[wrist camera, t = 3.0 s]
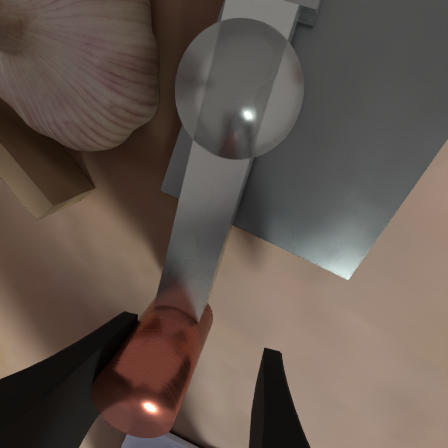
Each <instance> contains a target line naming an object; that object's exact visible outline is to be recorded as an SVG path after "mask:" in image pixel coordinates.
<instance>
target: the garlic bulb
mask: <svg viewBox="0 0 448 448" xmlns="http://www.w3.org/2000/svg"><path fill="white" fill-rule="evenodd" d="M158 67H159V48H158V44H157V41H156V39H155V36H154V34H153V32H152V25H151V5H150V0H0V97H1V98H2V99H3V100H4V101H5V102H7V103H8V104H9V105H10V106H11V107H12V108H13V109H14V110H15V111H16V112H17V114H18V115H19V116H20V117H21V118H22V119H23V120H24V122H25V123H26V124H27V125H28V126H30V127H31V128H32V129H34V130H35V131H36V132H38V133H40V134H42V135H45V136H48V137H51V138H53V139H54V140H56V141H58V142H59V143H61V144H62V145H64V146H66V147H69V148H71V149H74V150H79V151H101V150H108V149H112V148H115V147H117V146H119V145H120V144H122V143H123V142H124V141H125V140H127V139H128V137H129V136H130V134H131V133H132V132H133V131H134V130H135V129H136V128H138V127H140V126H142V125H144V124H146V123H147V122H149V121H150V120H151V119H152V118H153V116H154V115H155V113H156V112H157V109H158V106H159V102H160V89H159V85H158V78H157V74H158Z"/></svg>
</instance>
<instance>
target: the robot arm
mask: <svg viewBox="0 0 448 448" xmlns="http://www.w3.org/2000/svg"><path fill="white" fill-rule="evenodd" d="M137 322H138V315H137V314H133V313H129V312H125V311H124V312H123V313H121V314H120V315H118V316H116V317H115V318H113V319H112V320H110V321H109V322H107V323H106V324H104V325H103V326H101V327H100V328H98V329H97V330H95V331H93V332H92V333H90V334H89V335H87V336H85V337H84V338H82V339H81V340H79V341H77V342H76V343H74V344H72V345H71V346H69V347H67V348H65V349H64V350H62V351H60V352H58V353H56V354H55V355H53V356H51V357H49V358H47V359H45V360H43V361H41V362H39V363H37V364H35V365H33V366H30V367H28V368H26V369H24V370H21V371H19V372H17V373H14V374H12V375H9V376H7V377H4V378H2V379H0V448H79V446H80V445H81V443H82V441H83V439H84V437H85V435H86V434H87V432H88V431H89V429H90V427H91V426H92V424H93V423H94V421H95V420H96V418H97V417H98V415H99V412H98V411H97V409H96V407H95V406H94V403H93V401H92V396H91V388H92V384H93V382H94V380H95V379H96V378H97V376H98V375H99V374H100V372H101V371H102V370H103V368H104V367H105V365H106V364H107V363H108V361H109V360H110V359H111V357H112V356H113V354H114V353H115V352H116V350H117V349H118V348H119V346H120V345H121V344H122V342H123V341H124V339H125V338H126V337H127V335H128V334H129V333H130V331H131V330H132V329H133V327H134V326H135V324H136V323H137ZM121 448H199V447H197V446H195V445H193V444H191V443H189V442H187V441H185V440H183V439H181V438H179V437H177V436H175V435H173V434H171V433H169V432H168V433H166V434H165V435H162V436H160V437H157V438H139V437H135V436H131V435H128V434H127V435H126V437H125V440H124V442H123V444H122V446H121ZM249 448H310V446H309V443H308V441H307V439H306V436H305V434H304V431H303V429H302V426H301V424H300V421H299V418H298V415H297V413H296V410H295V407H294V404H293V400H292V397H291V394H290V391H289V387H288V384H287V380H286V375H285V371H284V366H283V360H282V354H281V353H280V351H276V350H272V349H268V348H264V351H263V356H262V360H261V364H260V369H259V373H258V377H257V382H256V386H255V393H254V399H253V405H252V411H251V426H250V440H249Z"/></svg>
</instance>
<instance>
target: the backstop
mask: <svg viewBox="0 0 448 448" xmlns="http://www.w3.org/2000/svg"><path fill="white" fill-rule="evenodd" d="M0 178H1V179H2V180H3V181H4V182H5V183H6V185H7V186H8V187H9V188H10V189H11V190H12V192H13V193H14V194H15V195H16V196H17V197H18V199H19V200H20V201H21V202H22V203H23V204H24V206H25V207H26V208H27V209H28V210H29V212H30V213H31V214H32V215H33V216H34V217H35V219H36V220H39V219H41V218H43V217H45V216H47V215H50V214H52V213H54V212H56V211H59V210H61V209H63V208H65V207H67V206H70V205H72V204H74V203H76V202H79V201H81V200H82V199H83V198H84V197H85V196H87V195H88V194H89V193H90V192H91V191H92V190H94V189H95V187H94V186H93V185H92V184H91V182H90V181H89V180H88V179H87V177H86V176H85V175H84V174H83V172H82V171H81V170H80V169H79V167H78V166H77V165H76V164H75V162H74V161H73V160H72V159H71V157H70V156H69V155H68V154H67V152H66V151H65V150H64V149H63V147H62V146H61V145H60V143H59V142H58V141H56V140H54V139H53V138H51V137H48V136H45V135H42V134H40V133H38V132H36V131H35V130H34V129H32V128H31V127H30V126H28V125H27V124H26V123H25V122H24V120H23V119H22V118H21V117H20V116H19V115H18V114H17V112H16V111H15V110H14V109H13V108H12V107H11V106H10V105H9V104H8V103H7V102H5V101H4V100H3V99H2V98H1V97H0Z"/></svg>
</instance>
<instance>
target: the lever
mask: <svg viewBox="0 0 448 448" xmlns="http://www.w3.org/2000/svg"><path fill="white" fill-rule="evenodd" d="M321 2H322V0H226V1H225V6H224V10H223V14H222V18H221V21H220V22H218V23H215V24H213V25H211V26H210V27H208V28H206V29H205V30H204V31H202V32H201V33H200V34H199V35H198V36H197V37H196V38H195V39H194V40H193V41H192V42H191V43H190V45H189V46H188V48H187V49H186V51H185V53H184V55H183V56H182V58H181V61H180V64H179V66H178V70H177V74H176V80H175V102H176V107H177V111H178V114H179V117H180V120H181V122H182V124H183V126H184V128H185V129H186V131H187V132H188V134H189V135H190V136H191V138H192V139H193V143H192V147H191V151H190V155H189V160H188V164H187V168H186V173H185V177H184V181H183V185H182V190H181V194H180V198H179V203H178V207H177V211H176V215H175V220H174V224H173V228H172V233H171V237H170V241H169V245H168V250H167V254H166V258H165V263H164V267H163V271H162V275H161V280H160V284H159V288H158V292H157V296H156V297H155V298H154V300H153V301H152V302H151V304H150V305H149V307H148V308H147V309H146V311H145V312H144V313H143V315H142V316H141V318H140V319H139V320H138V322H137V323H136V324H135V326H134V327H133V329H132V330H131V331H130V333H129V334H128V335H127V337H126V338H125V339H124V341H123V342H122V344H121V345H120V346H119V348H118V349H117V350H116V352H115V353H114V354H113V356H112V357H111V359H110V360H109V361H108V363H107V364H106V365H105V367H104V368H103V370H102V371H101V372H100V374H99V375H98V376H97V378H96V379H95V380H94V382H93V384H92V388H91V396H92V401H93V403H94V406H95V407H96V409H97V411H98V412H99V414H100V415H101V416H102V417H103V418H104V419H105V420H106V421H107V422H108V423H109V424H110V425H112V426H113V427H115V428H116V429H118V430H120V431H122V432H124V433H126V434H128V435H131V436H135V437H139V438H157V437H160V436H162V435H165V434H166V433H168V432H169V431H170V430H171V428H172V427H173V425H174V422H175V420H176V417H177V414H178V412H179V409H180V407H181V404H182V401H183V399H184V396H185V393H186V391H187V388H188V386H189V383H190V380H191V378H192V375H193V373H194V370H195V367H196V365H197V362H198V360H199V357H200V354H201V352H202V349H203V347H204V344H205V341H206V339H207V336H208V334H209V331H210V328H211V326H212V322H213V314H212V310H211V308H210V306H209V304H208V301H209V298H210V294H211V291H212V288H213V285H214V282H215V279H216V276H217V272H218V269H219V266H220V263H221V260H222V257H223V254H224V250H225V247H226V244H227V241H228V238H229V235H230V232H231V229H232V225H233V222H234V219H235V216H236V213H237V210H238V207H239V203H240V200H241V197H242V194H243V191H244V188H245V185H246V182H247V178H248V175H249V172H250V169H251V166H252V163H253V160H254V157H257V156H260V155H262V154H264V153H266V152H268V151H270V150H271V149H273V148H274V147H276V146H277V145H278V144H279V143H280V142H281V141H282V140H283V139H284V138H285V137H286V136H287V135H288V133H289V132H290V131H291V129H292V128H293V126H294V124H295V122H296V120H297V118H298V116H299V113H300V110H301V106H302V102H303V95H304V80H303V73H302V68H301V65H300V62H299V59H298V56H297V54H296V53H295V51H294V49H293V47H292V46H291V41H292V37H293V34H294V31H295V28H296V25H297V22H300V23H304V24H307V25H311V26H313V25H314V22H315V19H316V17H317V14H318V11H319V8H320V5H321Z"/></svg>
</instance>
